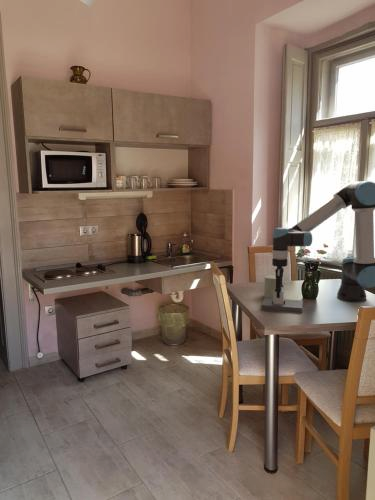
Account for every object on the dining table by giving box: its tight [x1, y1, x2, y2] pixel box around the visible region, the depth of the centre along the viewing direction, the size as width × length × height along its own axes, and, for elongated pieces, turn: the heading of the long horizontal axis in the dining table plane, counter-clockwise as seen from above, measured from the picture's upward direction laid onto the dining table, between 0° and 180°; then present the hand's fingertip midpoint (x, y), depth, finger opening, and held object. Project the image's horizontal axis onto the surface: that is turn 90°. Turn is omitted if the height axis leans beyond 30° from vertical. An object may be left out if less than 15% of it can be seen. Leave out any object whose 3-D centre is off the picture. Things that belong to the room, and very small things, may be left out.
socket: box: [260, 297, 304, 314], centre depth 207 cm, size 20×14×2 cm
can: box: [263, 274, 276, 298], centre depth 227 cm, size 9×9×12 cm
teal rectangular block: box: [273, 289, 285, 305], centre depth 207 cm, size 5×4×8 cm
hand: (278, 301), depth 207 cm, fingers open, 7 cm apart
